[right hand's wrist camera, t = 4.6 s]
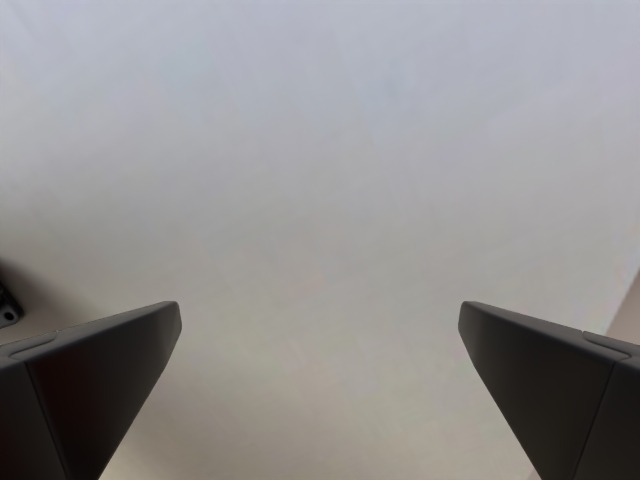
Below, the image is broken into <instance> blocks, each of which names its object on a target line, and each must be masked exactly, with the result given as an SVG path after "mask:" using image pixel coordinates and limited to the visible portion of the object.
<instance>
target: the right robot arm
mask: <svg viewBox="0 0 640 480" xmlns="http://www.w3.org/2000/svg"><path fill="white" fill-rule="evenodd" d="M12 314H13V315H12ZM23 317H24V312H23V310H22V309H21V307H20V306H19V305H18V303H17V302H16V301H15V299H14V298H13V297H12V296H11V294H10V293H9V292H8V290H7V289H6V288H5V286H4V285H3V284H2V282H1V281H0V329H1V328H4V327H7V326H9V325H12V324H15V323H17V322H18V321H19V320H21V319H22V318H23ZM181 329H182V322H181V316H180V310H179V305H178V303H177V302H175V301H165V302H160V303H157V304H153V305H150V306H146V307H142V308H139V309H135V310H131V311H128V312H124V313H120V314H117V315H113V316H110V317H106V318H102V319H99V320H95V321H91V322H88V323H84V324H80V325H77V326H73V327H70V328H66V329H62V330H59V331H58V332H57V331H53V332H50V333H46V334H42V335H38V336H35V337H31V338H27V339H23V340H19V341H16V342H12V343H8V344H4V345H0V480H98V479H99V478H100V476H101V474H102V473H103V471H104V469H105V468H106V466H107V464H108V463H109V461H110V459H111V458H112V456H113V454H114V453H115V451H116V449H117V448H118V446H119V444H120V443H121V441H122V439H123V438H124V436H125V434H126V433H127V431H128V429H129V427H130V426H131V424H132V422H133V421H134V419H135V417H136V416H137V414H138V412H139V411H140V409H141V407H142V406H143V404H144V402H145V401H146V399H147V397H148V396H149V394H150V392H151V391H152V389H153V387H154V386H155V384H156V382H157V381H158V379H159V377H160V376H161V374H162V372H163V370H164V369H165V367H166V365H167V363H168V361H169V358H170V356H171V354H172V352H173V349H174V347H175V345H176V342H177V340H178V338H179V335H180V333H181ZM458 329H459V333H460V335H461V338H462V340H463V342H464V345H465V347H466V349H467V352H468V354H469V356H470V358H471V361H472V363H473V365H474V367H475V369H476V370H477V372H478V374H479V376H480V377H481V379H482V381H483V382H484V384H485V386H486V387H487V389H488V391H489V392H490V394H491V396H492V397H493V399H494V401H495V402H496V404H497V406H498V407H499V409H500V411H501V412H502V414H503V416H504V417H505V419H506V421H507V422H508V424H509V426H510V427H511V429H512V431H513V433H514V434H515V436H516V438H517V439H518V441H519V443H520V444H521V446H522V448H523V449H524V451H525V453H526V454H527V456H528V458H529V459H530V461H531V463H532V464H533V466H534V468H535V469H536V471H537V473H538V474H539V476H540V478H541V479H542V480H640V345H636V344H632V343H628V342H624V341H621V340H617V339H613V338H609V337H605V336H602V335H598V334H594V333H590V332H587V331H583V332H582V331H581V330H578V329H574V328H570V327H567V326H563V325H560V324H556V323H552V322H549V321H545V320H541V319H538V318H534V317H530V316H527V315H523V314H520V313H516V312H512V311H509V310H505V309H501V308H498V307H494V306H490V305H487V304H483V303H480V302H475V301H465V302H463V303H462V305H461V310H460V316H459V322H458Z"/></svg>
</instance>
